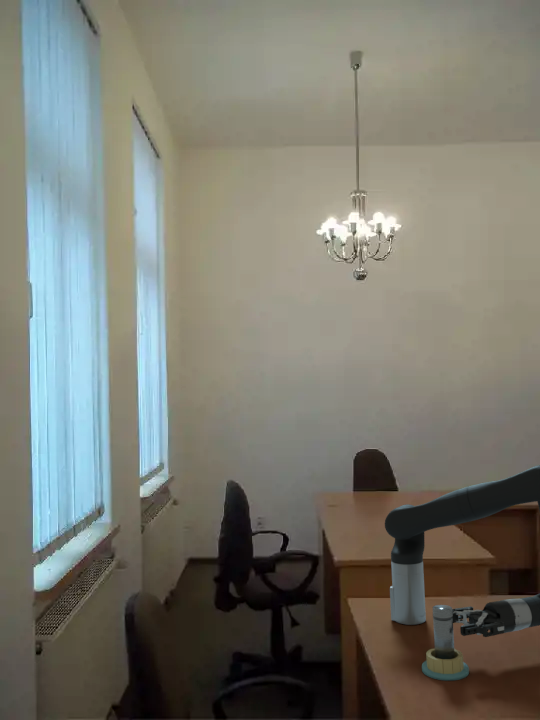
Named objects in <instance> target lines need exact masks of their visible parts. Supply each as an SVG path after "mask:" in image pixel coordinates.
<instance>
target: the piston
mask: <svg viewBox="0 0 540 720" xmlns="http://www.w3.org/2000/svg"><path fill="white" fill-rule="evenodd" d="M452 609H453V607H452V606H450V605H446V604H435V605H434V606H432V619H433V620H432V621H433V623H432V624H433V638H434V639H433V640H434V648H435V658H439V659H454V658H455V652H454V649H455V638H454V637H455V636H454V635H455V634H454V623H453V615H452Z"/></svg>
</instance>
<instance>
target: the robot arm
mask: <svg viewBox="0 0 540 720" xmlns="http://www.w3.org/2000/svg"><path fill="white" fill-rule="evenodd" d="M534 502H537V505H538V510H539V512H540V465H539V464H538V465H534V466H532V467H530V468H528V469H526V470H522V472H519V473H517V474H513V475H512V476H509V477H507V478H502V479H499V480H494V481H486V482H482V483H477V484H472V485H469V486H468V485H467V486H465V487H462V488H458V489H455V490H453V491H450V492H448V493H445V494H443V495H441V496H439V497H437V498H434V499H432V500H431V501H428V502H425V503H422V504H418V505H413V504H403V505H400V506H398V507H395V508H393V509H391V510H390V511H389V513H387V516H386V517H385V520H384V528H385V531H386V532H387V534H388V535H389V536H390V537H392V538H393V539H394V543H393V546H392V549H391V551H390V561H391V564H390V565H391V581H392V584H391V586H390V587H389V598H390V600H389V601H390V602H389V603H390V620H391V621H394V622H396V623H398V624H400V625H402V624H403V625H407V626H408V625H409V626H410V625H411V626H412V625H419V624H423V623H425V622H426V621H427V620H426V618H427V614H426V598H425V597H426V596H425V593H426V592H425V577H424V576H425V575H424V573H425V572H424V557H423V556H424V551H425V546H426V545H425V533H426V532H428V531H430V530H431V531H432V530H434V529H438V528H444V527H450V526H456V525H461V524H464V523H469V522H472V521H477V520H480V519H481V520H482V519H484V518H486V517H490V516H493V515H494V514H497V513H499V512H501V511H503V510H506V509H508V508H510V507H513V506H518V505H521V504H522V505H524V504H529V503H534ZM452 615H453V624H455V623H456V624H457V623H458V624H462V625H460V631H459V632H460V635H461V636H463V637H465V636H473V635H477V636H481V635H482V637H483V638H489V637H493V636H498V635H503V634H507V633H513V632H518V631H521V630H524V629H529V628H534V627H537V626H540V593H538V594H535V595H533V596H528V597H520V598H510V599H509V598H508V599H502V600H496V601H491V602H487V603H485V606H484V607H483V609H474V606H471V605H470V606H463V607H457V608H456V607H455V608H452ZM467 619H468V620H467Z"/></svg>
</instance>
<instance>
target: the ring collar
mask: <svg viewBox="0 0 540 720" xmlns="http://www.w3.org/2000/svg"><path fill="white" fill-rule="evenodd" d="M454 652H455V658H454V659H439V658H435V647H434V648H429V649H428V650H427V651H426V653H425V654H426V656H425V657H426V658H425V659H426V660H424V661H423V662H422V664H421V671H422V673H423V674H424V675H425V676H427V677H429V678H430V679H434V680H439V681H446V682H447V681H448V682H449V681H458V680H462V679H465V678H466V677H468V676H469V673H470V668H469V665H468V664H467V663H466V662H464V655H463V653H462V652H461V650H458V649H456V648H454Z"/></svg>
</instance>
